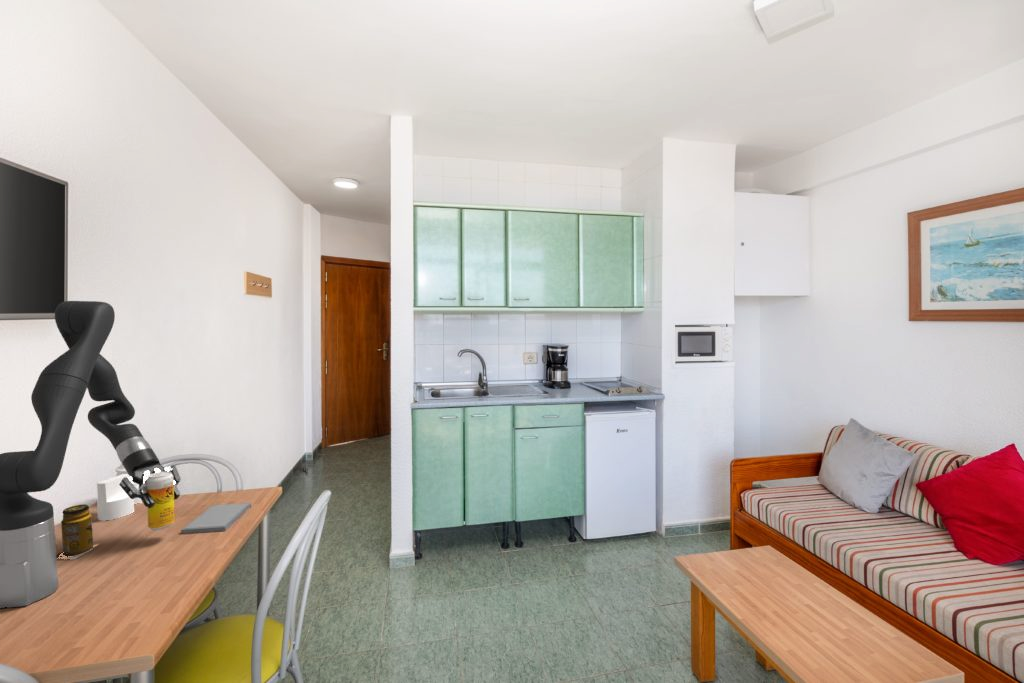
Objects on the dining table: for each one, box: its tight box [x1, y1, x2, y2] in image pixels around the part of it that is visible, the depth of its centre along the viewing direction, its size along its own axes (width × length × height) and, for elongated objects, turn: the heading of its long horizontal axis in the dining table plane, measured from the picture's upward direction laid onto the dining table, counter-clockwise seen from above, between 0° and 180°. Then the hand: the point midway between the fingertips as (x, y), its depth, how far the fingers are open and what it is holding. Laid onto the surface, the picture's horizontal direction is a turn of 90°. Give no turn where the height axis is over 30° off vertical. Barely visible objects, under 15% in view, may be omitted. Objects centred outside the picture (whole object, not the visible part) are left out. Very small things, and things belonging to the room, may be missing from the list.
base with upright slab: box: [96, 474, 135, 522], centre depth 150 cm, size 9×9×12 cm
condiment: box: [56, 504, 96, 561], centre depth 126 cm, size 7×8×12 cm
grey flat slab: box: [180, 502, 252, 535], centre depth 146 cm, size 18×12×1 cm, turn 7°
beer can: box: [146, 471, 176, 531], centre depth 132 cm, size 6×6×15 cm
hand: (164, 501), depth 131 cm, fingers closed on beer can, 6 cm apart
